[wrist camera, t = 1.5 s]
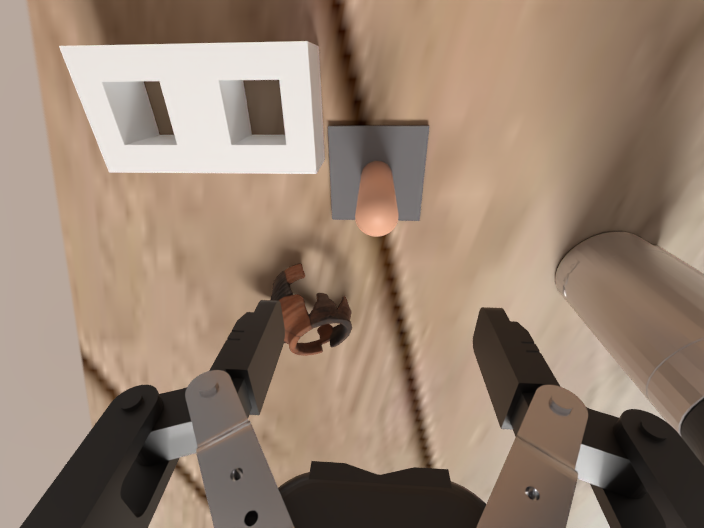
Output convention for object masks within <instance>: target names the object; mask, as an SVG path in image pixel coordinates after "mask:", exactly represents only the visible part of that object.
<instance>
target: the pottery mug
mask: <svg viewBox="0 0 704 528" xmlns="http://www.w3.org/2000/svg"><path fill="white" fill-rule="evenodd" d="M304 277H305V273H304V271H303V267H302V264H298V265H294V266H292V267H289V268H288V269H286V270H285V271H283V272H282V273H280V274H279V275H278V276H277V278H276V279H275V281H274V283H273V292H272V296H271V301H280V303H281V308H282V314H283V321H284V327H285V339H284V343H287V344H289V348H290V350H291V351H292V352H293V353H295V354H297V355H314V354H318V353H321V352H323V350H322V344H325V343H327V342H329V341H330V346H331V347H335V346H337V345H339V344H340V343H342V342H343V341H344V340H345V339H346V338H347V337H348V336H349V334H350V332H351V330H352V324H351V322H350V317H351V310H350V308H349V305H348V302H347V299H346V297H345V296H343V297H342V301H341V303H340V305H339V306H338V308H336V305H335V303H334V302H333V301H332V300H331V299H329V297H328V295H327V294H324V293H317V295H316V296H317V302H316V303H315V306H314V308H313V310H312V311H311V313H310V314H308V312H307V310H306V306H305V301H304V299H303V298H302V297H301V296H300V295H298V294H295V295H293V292H292V291H291V289H290V284H291V283H293V282H294V281H297V280H299V279H302V278H304ZM331 323H340V325H337V326H335V327H332V326H331V325H330V324H331ZM318 326H320V327H319V328H318V330H317V331H318V334H319V335H320V340H317V341H313V342H309V343H297V342H298V340H299V339H300V337H301V336H303V335H304V334H305V333H307V332H308V331H310V330H311V329H313V328H315V327H318Z"/></svg>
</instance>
